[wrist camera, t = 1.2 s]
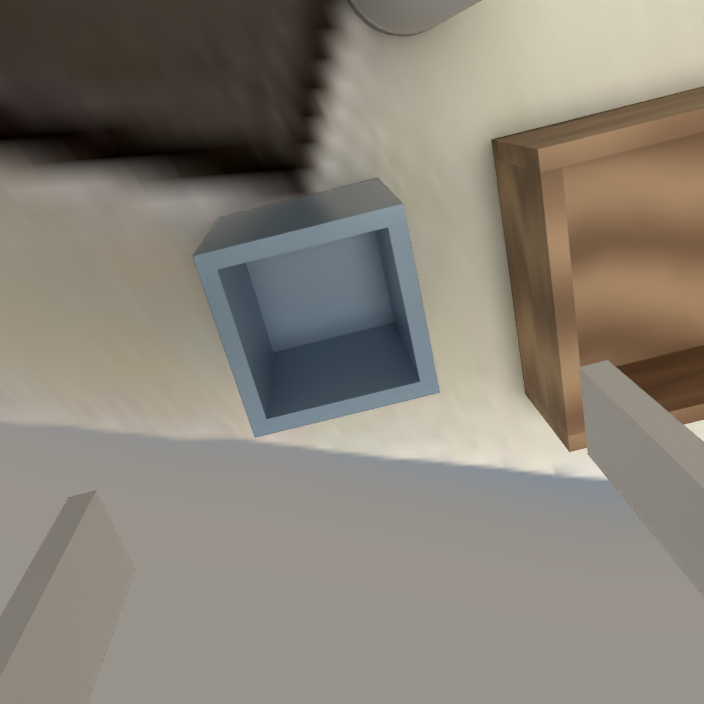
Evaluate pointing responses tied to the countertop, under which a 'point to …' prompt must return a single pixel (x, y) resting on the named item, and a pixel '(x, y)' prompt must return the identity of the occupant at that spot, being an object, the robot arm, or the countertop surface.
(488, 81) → the countertop surface
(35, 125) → the countertop surface
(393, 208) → the slate crate
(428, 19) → the travel mug
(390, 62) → the countertop surface
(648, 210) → the walnut crate
